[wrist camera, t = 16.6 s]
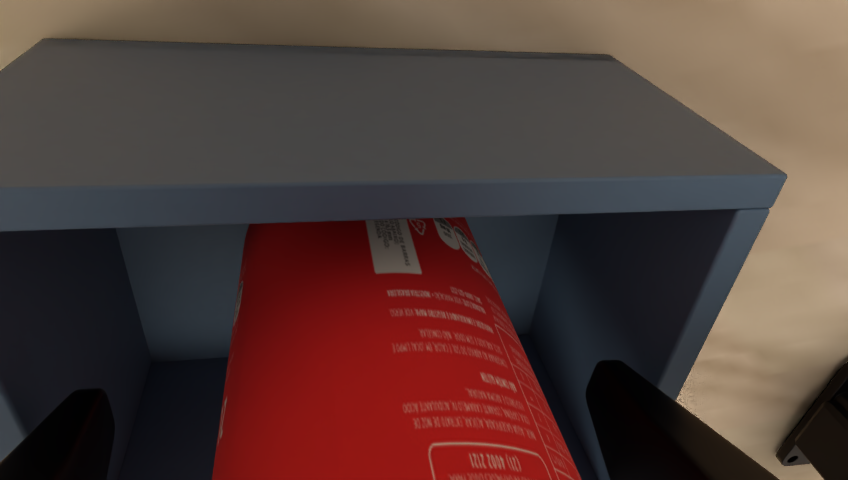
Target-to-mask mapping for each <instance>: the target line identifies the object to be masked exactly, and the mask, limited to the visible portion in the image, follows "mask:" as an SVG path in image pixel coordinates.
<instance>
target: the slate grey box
mask: <svg viewBox="0 0 848 480" xmlns="http://www.w3.org/2000/svg"><path fill="white" fill-rule="evenodd" d="M786 179H787V174H785V173H784V172H782V171H781V170H780V169H778V168H777V167H775V166H774V165H772V164H771V163H769V162H768V161H766V160H765V159H763V158H762V157H760V156H759V155H757V154H756V153H754V152H753V151H751V150H750V149H748V148H747V147H745V146H744V145H742V144H741V143H739V142H738V141H736V140H735V139H734V138H732V137H731V136H729V135H728V134H726V133H725V132H723V131H722V130H720V129H719V128H717V127H716V126H714V125H713V124H711V123H710V122H708V121H707V120H705V119H704V118H702V117H701V116H699V115H698V114H696V113H695V112H693V111H692V110H691V109H689V108H688V107H686V106H685V105H683V104H682V103H680V102H679V101H677V100H676V99H674V98H673V97H671V96H670V95H668V94H667V93H665V92H664V91H662V90H661V89H659V88H658V87H656V86H655V85H653V84H652V83H650V82H649V81H647V80H646V79H645V78H643V77H642V76H640V75H639V74H637V73H636V72H634V71H633V70H631V69H630V68H628V67H627V66H625V65H624V64H622V63H621V62H619V61H618V60H616V59H615V58H613V57H612V56H610V55H600V54H565V53H530V52H495V51H461V50H426V49H391V48H357V47H322V46H287V45H252V44H218V43H183V42H148V41H114V40H79V39H42V40H40V41H39V42H38V43H37V44H35V45H34V46H33V47H31V48H30V49H29V50H27V51H26V52H25V53H23V54H22V55H21V56H19V57H18V58H17V59H16V60H14V61H13V62H12V63H10V64H9V65H8V66H6V67H5V68H4V69H2V70H1V71H0V462H1V461H2V460H3V459H4V458H5V457H6V456H7V455H8V454H9V453H10V452H11V451H12V450H13V449H14V448H15V447H16V446H17V445H18V444H19V443H20V442H22V441H23V440H24V439H25V438H26V437H27V436H28V435H29V434H30V433H31V432H32V431H33V430H34V429H35V428H36V427H37V426H38V425H39V424H40V423H41V422H42V421H43V420H44V419H45V418H46V417H47V416H48V415H49V414H50V413H51V412H52V411H53V410H54V409H55V408H56V407H57V406H58V405H59V404H60V403H61V402H62V401H63V400H65V399H66V398H67V397H68V396H69V395H70V394H71V393H72V392H74V391H75V390H78V389H92V388H102V389H104V390H105V391H106V393H107V396H108V399H109V403H110V406H111V410H112V413H113V417H114V421H115V436H114V442H113V447H112V453H111V458H110V464H109V469H108V474H107V480H212V475H213V468H214V460H215V453H216V446H217V438H218V431H219V424H220V416H221V409H222V402H223V394H224V387H225V380H226V372H227V365H228V358H229V351H230V343H231V336H232V329H233V321H234V314H235V307H236V299H237V292H238V285H239V277H240V270H241V263H242V255H243V248H244V242H245V237H246V233H247V230H248V227H249V224H263V223H295V222H328V221H360V220H393V219H425V218H458V217H465V219H466V221H467V224H468V226H469V228H470V230H471V233H472V235H473V237H474V239H475V242H476V244H477V246H478V248H479V251H480V253H481V255H482V257H483V260H484V262H485V264H486V266H487V268H488V271H489V273H490V275H491V277H492V280H493V282H494V284H495V286H496V289H497V291H498V293H499V295H500V298H501V300H502V302H503V304H504V307H505V309H506V311H507V313H508V316H509V318H510V320H511V322H512V324H513V327H514V329H515V331H516V333H517V336H518V338H519V340H520V342H521V345H522V347H523V349H524V351H525V354H526V356H527V358H528V360H529V363H530V365H531V367H532V369H533V372H534V374H535V376H536V378H537V380H538V383H539V385H540V387H541V389H542V392H543V394H544V396H545V398H546V401H547V403H548V405H549V407H550V410H551V412H552V414H553V416H554V419H555V421H556V423H557V425H558V428H559V430H560V432H561V434H562V436H563V439H564V441H565V443H566V445H567V448H568V450H569V452H570V454H571V457H572V459H573V461H574V463H575V466H576V468H577V470H578V472H579V475H580V477H581V479H582V480H610V477H609V475H608V472H607V469H606V466H605V463H604V459H603V456H602V453H601V449H600V446H599V443H598V439H597V436H596V433H595V429H594V426H593V423H592V419H591V416H590V413H589V409H588V406H587V403H586V397H585V393H586V387H587V385H588V383H589V380H590V378H591V375H592V373H593V370H594V368H595V366H596V364H597V363H598V362H599V361H601V360H620V361H622V362H624V363H625V364H627V365H628V366H629V367H631V368H632V369H633V370H635V371H636V372H637V373H639V374H640V375H641V376H642V377H644V378H645V379H646V380H648V381H649V382H650V383H652V384H653V385H654V386H656V387H657V388H658V389H660V390H661V391H662V392H664V393H665V394H666V395H668V396H669V397H670V398H672V399H673V400H674V401H675V400H676V398H677V396H678V394H679V392H680V390H681V388H682V386H683V384H684V382H685V380H686V378H687V376H688V374H689V372H690V370H691V368H692V366H693V364H694V362H695V360H696V358H697V356H698V354H699V352H700V350H701V348H702V346H703V344H704V342H705V340H706V338H707V336H708V334H709V332H710V330H711V328H712V326H713V324H714V322H715V320H716V318H717V316H718V314H719V312H720V310H721V308H722V306H723V304H724V302H725V300H726V298H727V296H728V294H729V292H730V290H731V288H732V286H733V284H734V282H735V280H736V278H737V276H738V274H739V272H740V270H741V268H742V266H743V264H744V262H745V260H746V258H747V256H748V254H749V252H750V250H751V248H752V246H753V244H754V242H755V240H756V238H757V236H758V234H759V232H760V230H761V228H762V226H763V224H764V222H765V220H766V218H767V216H768V214H769V208H771V207H772V206H773V205H774V203H775V201H776V199H777V197H778V195H779V193H780V191H781V189H782V187H783V185H784V183H785V181H786Z"/></svg>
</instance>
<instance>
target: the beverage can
mask: <svg viewBox="0 0 848 480" xmlns="http://www.w3.org/2000/svg"><path fill="white" fill-rule="evenodd" d="M212 480H582V479H581V477H580V475H579V472H578V470H577V468H576V466H575V463H574V461H573V459H572V457H571V454H570V452H569V450H568V448H567V445H566V443H565V441H564V439H563V436H562V434H561V432H560V430H559V428H558V425H557V423H556V421H555V419H554V416H553V414H552V412H551V410H550V407H549V405H548V403H547V401H546V398H545V396H544V394H543V392H542V389H541V387H540V385H539V383H538V380H537V378H536V376H535V374H534V372H533V369H532V367H531V365H530V363H529V360H528V358H527V356H526V354H525V351H524V349H523V347H522V345H521V342H520V340H519V338H518V336H517V333H516V331H515V329H514V327H513V324H512V322H511V320H510V318H509V316H508V313H507V311H506V309H505V307H504V304H503V302H502V300H501V298H500V295H499V293H498V291H497V289H496V286H495V284H494V282H493V280H492V277H491V275H490V273H489V271H488V268H487V266H486V264H485V262H484V260H483V257H482V255H481V253H480V251H479V248H478V246H477V244H476V242H475V239H474V237H473V235H472V233H471V230H470V228H469V226H468V224H467V221H466V219H465V217H458V218H425V219H393V220H360V221H328V222H295V223H263V224H249V227H248V230H247V233H246V237H245V242H244V248H243V255H242V263H241V270H240V277H239V285H238V292H237V299H236V307H235V314H234V321H233V329H232V336H231V343H230V351H229V358H228V365H227V372H226V380H225V387H224V394H223V402H222V409H221V416H220V424H219V431H218V438H217V446H216V453H215V460H214V468H213V475H212Z"/></svg>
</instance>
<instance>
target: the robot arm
mask: <svg viewBox="0 0 848 480" xmlns="http://www.w3.org/2000/svg"><path fill="white" fill-rule="evenodd" d="M585 397H586V403H587V406H588V409H589V413H590V416H591V419H592V423H593V426H594V429H595V433H596V436H597V439H598V443H599V446H600V449H601V453H602V456H603V459H604V463H605V466H606V469H607V472H608V475H609V477H610V480H779V479H778V478H777V477H775V476H774V475H773V474H771V473H770V472H769V471H767V470H766V469H765V468H763V467H762V466H761V465H759V464H758V463H757V462H756V461H754V460H753V459H752V458H750V457H749V456H748V455H746V454H745V453H744V452H742V451H741V450H740V449H738V448H737V447H736V446H734V445H733V444H732V443H730V442H729V441H728V440H726V439H725V438H724V437H722V436H721V435H720V434H718V433H717V432H716V431H714V430H713V429H712V428H710V427H709V426H708V425H706V424H705V423H704V422H702V421H701V420H700V419H698V418H697V417H696V416H694V415H693V414H692V413H690V412H689V411H688V410H686V409H685V408H684V407H682V406H681V405H680V404H678V403H677V402H676V401H674V400H673V399H672V398H670V397H669V396H668V395H666V394H665V393H664V392H662V391H661V390H660V389H658V388H657V387H656V386H654V385H653V384H652V383H650V382H649V381H648V380H646V379H645V378H644V377H642V376H641V375H640V374H639V373H637V372H636V371H635V370H633V369H632V368H631V367H629V366H628V365H627V364H625V363H624V362H622V361H620V360H601V361H599V362H598V363H597V364H596V366H595V368H594V370H593V373H592V375H591V378H590V380H589V383H588V385H587V387H586V393H585ZM114 436H115V421H114V417H113V413H112V410H111V406H110V403H109V399H108V396H107V393H106V391H105V390H104V389H102V388H92V389H78V390H75V391H74V392H72V393H71V394H70V395H69V396H68V397H67V398H66V399H65V400H63V401H62V402H61V403H60V404H59V405H58V406H57V407H56V408H55V409H54V410H53V411H52V412H51V413H50V414H49V415H48V416H47V417H46V418H45V419H44V420H43V421H42V422H41V423H40V424H39V425H38V426H37V427H36V428H35V429H34V430H33V431H32V432H31V433H30V434H29V435H28V436H27V437H26V438H25V439H24V440H23V441H22V442H20V443H19V444H18V445H17V446H16V447H15V448H14V449H13V450H12V451H11V452H10V453H9V454H8V455H7V456H6V457H5V458H4V459H3V460H2V461H1V462H0V480H107V474H108V469H109V464H110V458H111V453H112V447H113V442H114ZM776 457H777V459H778V460H779V461H780V462H781V464H782V465H784V466H792V465H801V464H810V463H811V464H812V465H813V467H814V468H815V469H816V470H817V472H818V473H819V474H820V475H821V476H822V478H823V479H824V480H848V362H847V363H846V364H845V365H844V366H843V367H842V368H841V369H840V370H839V372H838V373H837V374H836V376H835V377H834V378H833V380H832V381H831V382H830V384H829V385H828V386H827V387H826V389H825V390H824V391H823V393H822V394H821V395H820V397H819V398H818V399H817V401H816V402H815V403H814V405H813V406H812V407H811V409H810V410H809V411H808V412H807V414H806V415H805V416H804V418H803V419H802V420H801V422H800V423H799V424H798V426H797V427H796V428H795V430H794V431H793V432H792V434H791V435H790V436H789V437H788V439H787V440H786V441H785V443H784V444H783V445H782V447H781V448H780V449H779V451H778V452H777V454H776Z"/></svg>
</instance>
